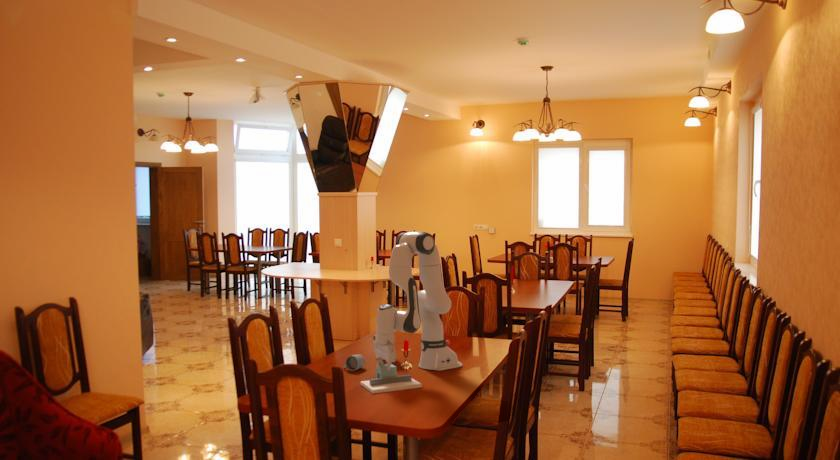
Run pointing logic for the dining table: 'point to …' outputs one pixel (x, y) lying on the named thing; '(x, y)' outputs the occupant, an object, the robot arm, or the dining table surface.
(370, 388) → the mounting board
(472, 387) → the dining table surface
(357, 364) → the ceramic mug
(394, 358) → the robot arm
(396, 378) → the metal rail
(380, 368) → the channel block
